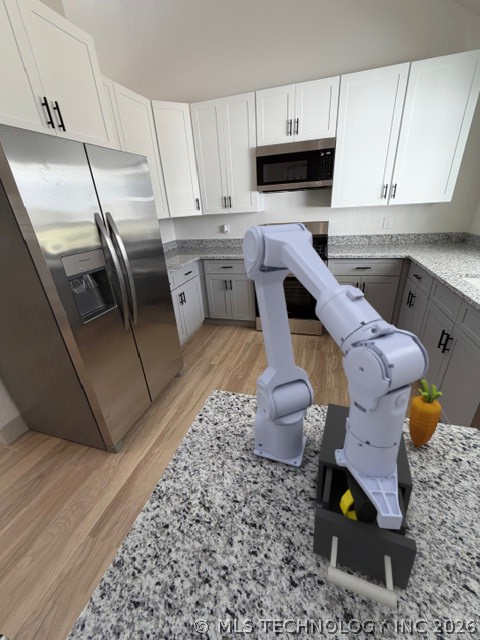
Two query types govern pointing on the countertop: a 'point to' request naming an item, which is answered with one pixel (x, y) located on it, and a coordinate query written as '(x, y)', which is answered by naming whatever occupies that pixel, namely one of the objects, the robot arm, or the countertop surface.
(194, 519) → the countertop surface
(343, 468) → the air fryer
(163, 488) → the countertop surface
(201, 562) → the countertop surface
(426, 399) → the carrot
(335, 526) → the dark gray drawer
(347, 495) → the watch
